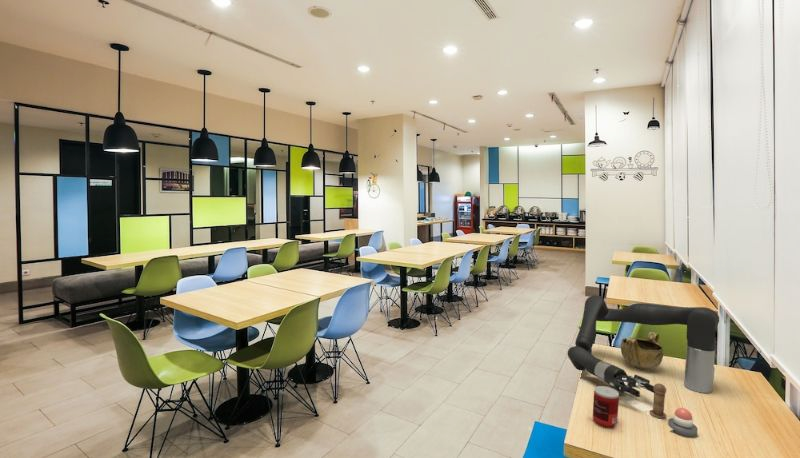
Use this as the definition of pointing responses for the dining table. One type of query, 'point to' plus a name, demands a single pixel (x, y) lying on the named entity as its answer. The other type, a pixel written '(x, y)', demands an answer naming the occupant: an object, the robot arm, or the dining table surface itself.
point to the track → (638, 405)
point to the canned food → (605, 406)
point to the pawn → (658, 402)
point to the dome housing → (683, 429)
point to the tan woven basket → (642, 351)
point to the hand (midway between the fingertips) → (647, 392)
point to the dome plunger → (683, 418)
